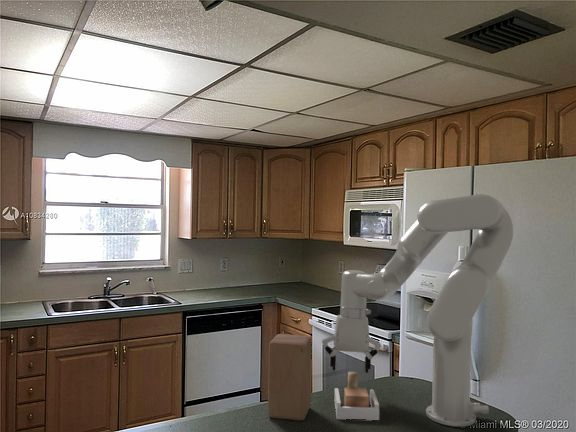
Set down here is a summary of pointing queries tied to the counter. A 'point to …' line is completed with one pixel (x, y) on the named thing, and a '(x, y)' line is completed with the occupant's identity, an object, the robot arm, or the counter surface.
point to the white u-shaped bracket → (357, 409)
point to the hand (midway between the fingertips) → (349, 370)
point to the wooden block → (289, 376)
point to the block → (355, 393)
